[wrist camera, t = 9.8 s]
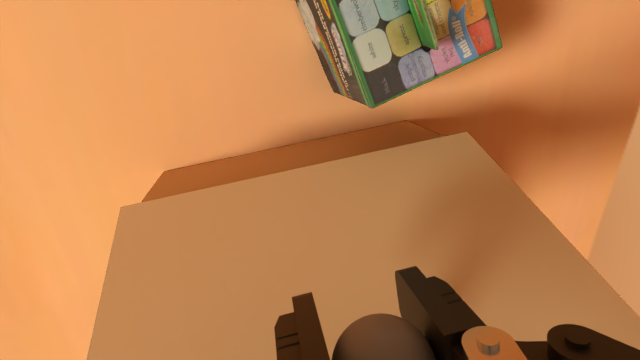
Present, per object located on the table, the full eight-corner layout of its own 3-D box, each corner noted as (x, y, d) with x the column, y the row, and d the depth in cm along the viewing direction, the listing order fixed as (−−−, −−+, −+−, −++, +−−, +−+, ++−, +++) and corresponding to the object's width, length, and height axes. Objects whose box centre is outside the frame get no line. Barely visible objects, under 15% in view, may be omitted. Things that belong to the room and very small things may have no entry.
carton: (163, 171, 33) (130, 216, 24) (405, 120, 36) (462, 143, 26) (212, 322, 38) (200, 408, 29) (420, 268, 41) (471, 331, 32)
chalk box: (426, 53, 34) (548, 50, 20) (332, 96, 34) (391, 123, 20) (392, -59, 31) (509, -153, 17) (288, -12, 31) (321, -69, 17)
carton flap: (126, 216, 24) (72, 129, 20) (464, 141, 26) (483, 50, 22) (52, 580, 12) (-124, 564, 8) (680, 382, 14) (809, 286, 10)
